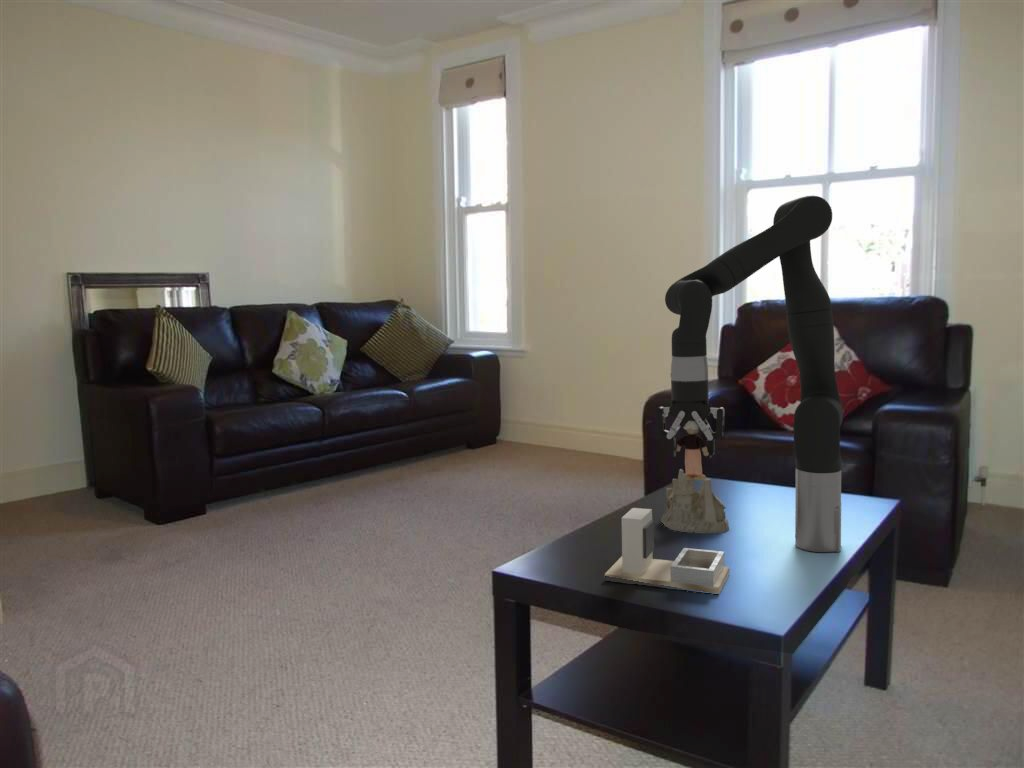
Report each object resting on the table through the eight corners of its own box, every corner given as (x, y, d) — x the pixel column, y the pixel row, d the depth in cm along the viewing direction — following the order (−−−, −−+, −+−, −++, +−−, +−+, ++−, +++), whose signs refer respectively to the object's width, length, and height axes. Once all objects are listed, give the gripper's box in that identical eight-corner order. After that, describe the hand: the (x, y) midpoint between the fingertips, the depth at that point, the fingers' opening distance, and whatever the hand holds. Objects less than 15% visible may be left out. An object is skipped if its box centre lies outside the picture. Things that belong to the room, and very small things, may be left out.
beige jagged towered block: (728, 535, 182) (725, 470, 182) (657, 533, 188) (654, 470, 187) (731, 521, 197) (729, 461, 197) (665, 520, 202) (662, 461, 202)
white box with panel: (655, 562, 161) (654, 509, 160) (645, 575, 154) (644, 519, 152) (633, 560, 163) (632, 507, 162) (622, 572, 155) (621, 517, 154)
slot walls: (724, 566, 157) (724, 551, 157) (713, 586, 146) (713, 571, 146) (684, 562, 160) (683, 547, 160) (670, 581, 150) (670, 566, 149)
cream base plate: (729, 574, 157) (729, 566, 157) (719, 595, 146) (719, 587, 146) (622, 562, 166) (622, 555, 166) (604, 581, 155) (604, 574, 155)
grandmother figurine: (713, 477, 164) (713, 417, 163) (707, 481, 161) (706, 420, 160) (678, 474, 168) (677, 415, 167) (671, 478, 165) (670, 418, 164)
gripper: (728, 376, 163) (729, 455, 165) (659, 376, 169) (661, 452, 171) (722, 379, 157) (723, 462, 158) (650, 379, 162) (652, 459, 164)
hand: (691, 456), depth 164 cm, fingers closed on grandmother figurine, 7 cm apart
